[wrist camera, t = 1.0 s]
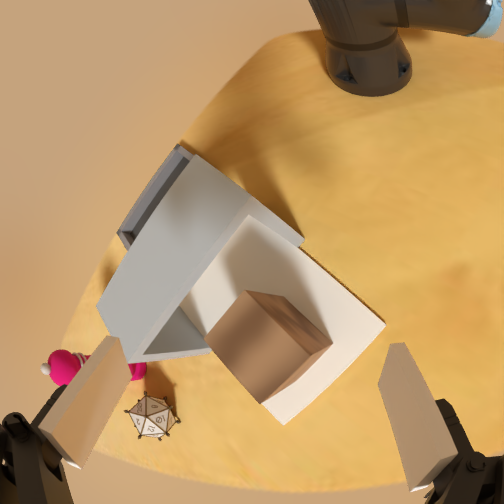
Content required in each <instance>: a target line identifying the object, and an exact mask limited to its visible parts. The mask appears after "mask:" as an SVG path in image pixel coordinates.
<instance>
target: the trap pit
mask: <svg viewBox="0 0 504 504" xmlns="http://www.w3.org/2000/svg"><path fill="white" fill-rule="evenodd" d="M193 157H194V155H193V154H191V153H190V152H189V151H187V150H186V149H184V148H183V147H182V146H180V145H179V144H177V145H176V146H175V147H174V149H173V150H172V151H171V153H170V154H169V155H168V157H167V158H166V159H165V161H164V162H163V163H162V165H161V166H160V168H159V169H158V170H157V172H156V173H155V175H154V176H153V177H152V179H151V180H150V182H149V183H148V185H147V186H146V188H145V189H144V190H143V192H142V193H141V195H140V196H139V198H138V199H137V201H136V202H135V204H134V205H133V207H132V209H131V210H130V212H129V213H128V215H127V216H126V218H125V220H124V221H123V223H122V224H121V226H120V228H119V229H118V231H117V234H118V236H119V238H120V239H121V241H122V243H123V244H124V246H125V248H126V249H127V251H128V250H129V249H130V247H131V245H132V244H133V242H134V241H135V239H136V237H137V236H138V234H139V233H140V231H141V230H142V228H143V227H144V225H145V224H146V222H147V221H148V219H149V218H150V216H151V215H152V213H153V212H154V210H155V209H156V207H157V206H158V205H159V203H160V202H161V200H162V199H163V197H164V196H165V195H166V193H167V192H168V190H169V189H170V188H171V186H172V185H173V183H174V182H175V181H176V179H177V178H178V177H179V175H180V174H181V173H182V171H183V170H184V169H185V167H186V166H187V165H188V163H189V162H190V161H191V159H192V158H193Z"/></svg>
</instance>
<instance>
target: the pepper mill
mask: <svg viewBox="0 0 504 504" xmlns="http://www.w3.org/2000/svg"><path fill="white" fill-rule="evenodd" d="M90 356H91V355H88V356H86V355H83V354H82V353H73V354H71V353H70V352H69V351H67V350H56V351H54V352H53V353H52V354H51V355H50V357H49V359H48V364H47V363H43V364H42V365H41V371H42V372H43V373H44V374H46V375H47V374H49V375H50V377H51V379H52V380H53V381H54V382H55V383H56V384H57V385H59V386H62V385H63V384H66V385H69V383H70V382H71V381H72V379H73V378H74V377H75V375H76V374H77V373H78V371H79V370H80V369H81V368H82V366H83V365H84V364H85V362H86V361H87V360H88V359H89V357H90ZM128 366H129V369H130V372H131V374H132V378H131V381H134V380H140V379H142V378H143V377H144V375H145V372H146V362H141V363H130V364H128Z"/></svg>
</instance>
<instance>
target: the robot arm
mask: <svg viewBox="0 0 504 504" xmlns="http://www.w3.org/2000/svg"><path fill="white" fill-rule="evenodd" d="M309 2H310V4H311V6H312V9H313V11H314V13H315V15H316V17H317V19H318V22H319V24H320V26H321V28H322V31H323V33H324V35H325V38H326V56H325V63H326V68H327V70H328V73H329V75H330V78H331V79H332V81H333V82H334V83H335V84H336V85H337V86H338V87H340V88H341V89H343V90H345V91H347V92H349V93H352V94H356V95H360V96H370V97H374V96H384V95H388V94H392V93H394V92H396V91H398V90H400V89H402V88H403V87H404V86H405V85H406V84H407V83H408V82H409V81H410V79H411V76H412V61H411V57H410V54H409V52H408V50H407V49H406V47H405V45H404V43H403V41H402V39H401V38H400V36H399V34H398V32H397V27H404V28H416V29H425V30H433V31H440V32H446V33H452V34H458V35H461V36H466V37H471V36H472V37H479V38H488V37H491V36H492V35H494V34H495V33H496V31H497V30H498V28H499V26H500V23H501V19H502V11H503V10H502V7H501V2H502V0H309ZM131 378H132V374H131V372H130V369H129V366H128V363H127V360H126V357H125V355H124V352H123V349H122V345H121V342H120V339H119V337H113V336H106V337H105V338H104V340H103V341H102V342H101V343H100V345H99V346H98V347H97V348H96V350H95V351H94V352H93V353H92V355H91V356H90V357H89V359H88V360H87V361H86V362H85V364H84V365H83V366H82V368H81V369H80V370H79V371H78V373H77V374H76V375H75V377H74V378H73V379H72V381H71V382H70V383H69V385H66V384H63V385H62V386H60V387H59V388H58V389H56V390H55V392H54V393H53V394H52V396H51V398H50V399H49V400H48V401H47V402H46V404H45V405H44V406H43V408H42V409H41V410H40V412H39V413H38V414H37V416H36V417H35V419H34V420H33V421H32V423H31V424H29V423H28V422H27V420H26V419H25V417H24V416H23V415H22V414H21V413H18V412H13V413H10V414H8V415H7V416H6V417H5V418H4V419H3V421H2V425H1V424H0V504H74V503H73V499H72V497H71V493H70V490H69V486H68V483H67V479H66V476H65V472H64V468H63V465H62V463H61V459H62V457H63V458H64V459H65V460H66V461H67V463H68V464H70V465H73V466H74V467H77V468H79V469H83V466H84V465H85V463H86V461H87V459H88V457H89V455H90V453H91V451H92V449H93V447H94V445H95V444H96V442H97V440H98V438H99V436H100V434H101V432H102V430H103V429H104V427H105V425H106V423H107V421H108V419H109V418H110V416H111V414H112V412H113V410H114V409H115V407H116V405H117V403H118V401H119V400H120V398H121V396H122V394H123V392H124V391H125V389H126V387H127V385H128V384H129V382H130V380H131ZM378 387H379V390H380V393H381V396H382V399H383V402H384V405H385V408H386V411H387V414H388V417H389V420H390V423H391V426H392V430H393V433H394V436H395V440H396V443H397V446H398V450H399V453H400V457H401V460H402V464H403V468H404V471H405V475H406V479H407V483H408V487H409V491H410V492H412V491H416V490H419V489H422V488H426V487H427V486H428V485H429V484H430V483H431V482H432V481H433V483H434V488H433V489H432V490H431V491H429V492H428V493H427V494H426V496H425V497H424V498H427V497H428V496H429V497H428V499H427V500H426V502H425V504H504V455H503V456H495V457H485V456H484V455H483V454H482V453H480V452H475V451H474V450H473V448H472V446H471V444H470V442H469V440H468V438H467V435H466V433H465V431H464V429H463V427H462V425H461V424H460V421H459V419H458V417H457V416H456V413H455V411H454V409H453V407H452V405H451V404H450V403H448V402H447V401H446V400H445V399H440V400H434V398H433V396H432V394H431V392H430V390H429V388H428V386H427V384H426V382H425V380H424V378H423V376H422V374H421V372H420V370H419V369H418V367H417V365H416V363H415V361H414V359H413V357H412V355H411V354H410V352H409V350H408V348H407V346H406V345H405V343H394V344H390V347H389V350H388V354H387V357H386V360H385V364H384V367H383V370H382V373H381V376H380V379H379V382H378ZM3 459H4V460H5V464H4V465H3V464H2V461H3Z"/></svg>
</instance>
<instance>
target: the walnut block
mask: <svg viewBox="0 0 504 504" xmlns="http://www.w3.org/2000/svg"><path fill="white" fill-rule="evenodd" d="M204 341H205V342H206V343H207V344H208V345H209V347H210V348H211V349H212V350H213V352H214V353H215V354H216V355H217V356H218V358H219V359H220V360H221V361H222V362H223V363H224V365H225V366H226V367H227V368H228V369H229V370H230V372H231V373H232V374H233V375H234V376H235V377H236V378H237V380H238V381H239V382H240V383H241V384H242V385H243V386H244V387H245V389H246V390H247V391H248V392H249V393H250V394H251V395H252V396H253V397H254V398H255V400H256V401H257V402H258V403H259V404H261V403H263V402H264V401H266V400H268V399H269V398H271V397H272V396H274V395H276V394H277V393H279V392H280V391H282V390H283V389H285V388H287V387H288V386H290V385H291V384H293V383H294V382H296V381H297V380H298V379H299V378H300V377H301V376H302V375H303V374H304V373H305V372H306V371H307V370H308V369H309V368H310V367H311V366H312V365H313V364H314V363H315V362H316V361H317V360H318V359H319V358H320V357H321V356H322V355H323V354H324V353H325V352H326V351H327V350H328V349H329V348H330V346H331V345H332V344H333V343H332V342H331V341H330V340H329V339H328V338H327V337H326V336H325V335H324V334H323V333H322V332H321V331H320V330H319V329H318V328H317V327H315V326H314V325H313V324H312V323H311V322H310V321H309V320H308V319H307V318H306V317H305V316H304V315H303V314H302V313H301V312H300V311H299V310H298V309H297V308H295V307H294V306H293V305H292V304H291V303H290V302H289V301H288V300H287V299H286V298H285V297H284V296H278V295H272V294H266V293H261V292H255V291H249V290H243V292H242V293H241V294H240V295H239V297H238V298H237V299H236V300H235V301H234V303H233V304H232V305H231V306H230V307H229V309H228V310H227V311H226V312H225V313H224V315H223V316H222V317H221V318H220V319H219V321H218V322H217V323H216V324H215V325H214V327H213V328H212V329H211V330H210V331H209V333H208V334H207V335H206V336H205V337H204Z"/></svg>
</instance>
